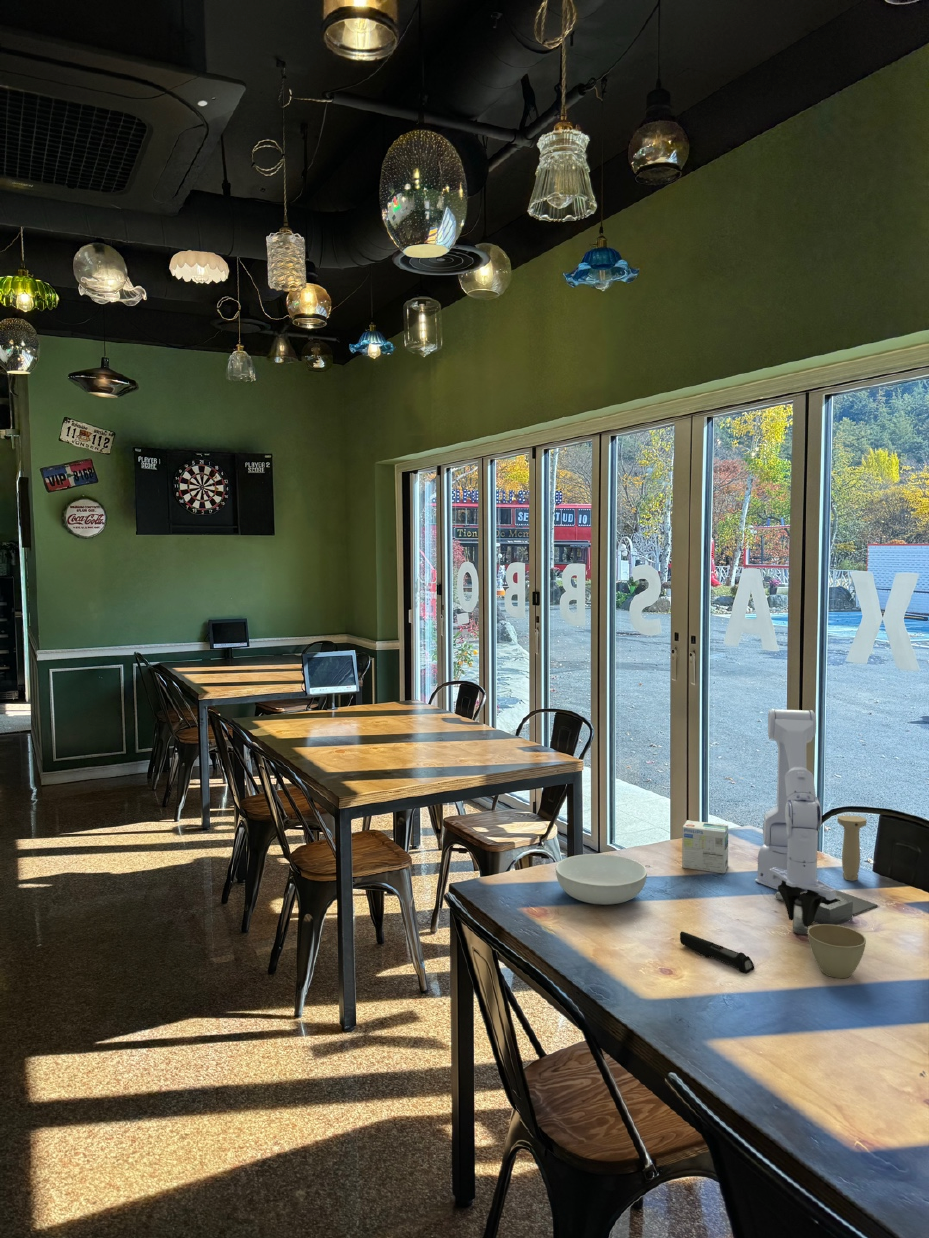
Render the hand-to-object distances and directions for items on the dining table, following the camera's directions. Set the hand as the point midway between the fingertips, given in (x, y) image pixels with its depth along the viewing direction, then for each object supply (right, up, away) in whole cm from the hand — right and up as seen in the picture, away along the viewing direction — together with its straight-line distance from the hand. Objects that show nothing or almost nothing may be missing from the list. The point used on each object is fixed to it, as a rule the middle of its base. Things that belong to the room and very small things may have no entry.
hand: (800, 921), depth 174 cm
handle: (+24, 0, +29) cm, 38 cm away
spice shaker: (0, -2, 0) cm, 2 cm away
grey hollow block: (+6, -1, +11) cm, 13 cm away
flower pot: (0, -4, -17) cm, 17 cm away
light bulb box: (-9, 0, +38) cm, 39 cm away
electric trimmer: (-21, -4, -11) cm, 24 cm away
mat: (+16, -1, +15) cm, 22 cm away
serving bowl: (-38, -2, +19) cm, 43 cm away
